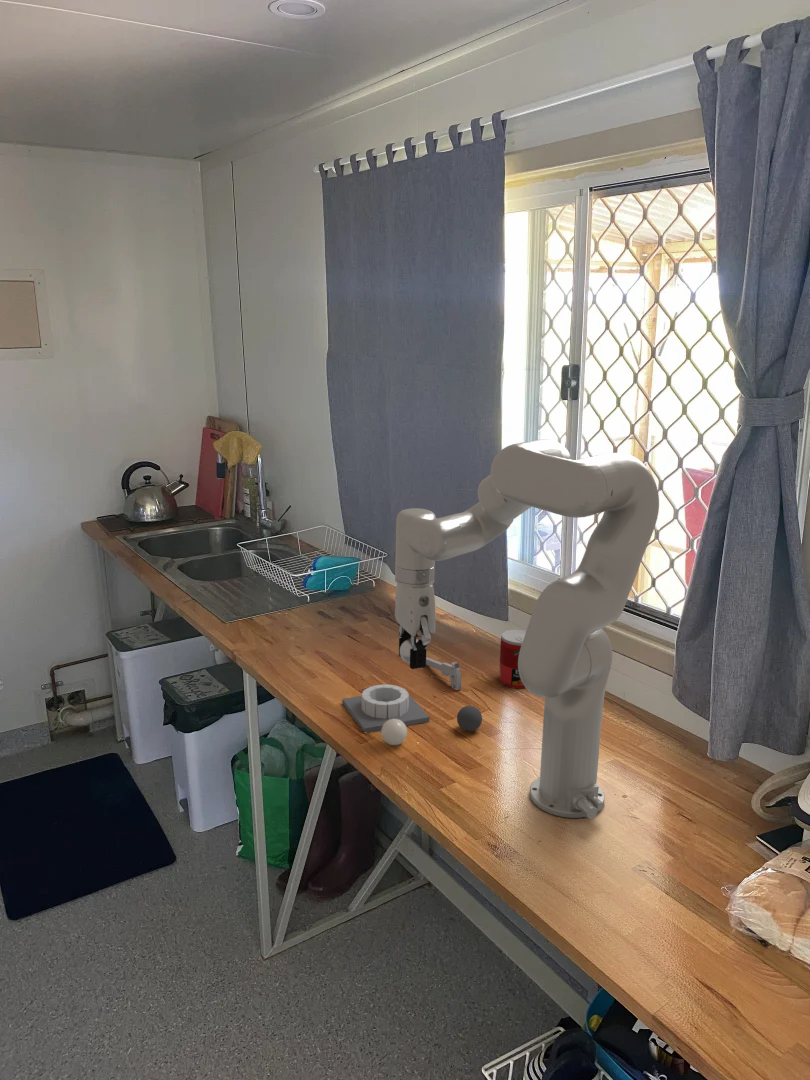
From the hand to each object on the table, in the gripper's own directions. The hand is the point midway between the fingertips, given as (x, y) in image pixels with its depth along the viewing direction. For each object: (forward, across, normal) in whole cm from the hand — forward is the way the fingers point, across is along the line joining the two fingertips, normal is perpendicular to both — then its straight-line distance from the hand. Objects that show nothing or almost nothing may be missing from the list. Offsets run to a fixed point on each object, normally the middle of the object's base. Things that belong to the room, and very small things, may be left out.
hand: (412, 660), depth 168 cm
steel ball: (-2, 0, 0) cm, 2 cm away
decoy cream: (+12, -6, +6) cm, 14 cm away
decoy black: (+11, -6, -10) cm, 16 cm away
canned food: (+14, +11, -30) cm, 35 cm away
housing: (+14, +7, +3) cm, 16 cm away
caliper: (+15, +21, -15) cm, 30 cm away
